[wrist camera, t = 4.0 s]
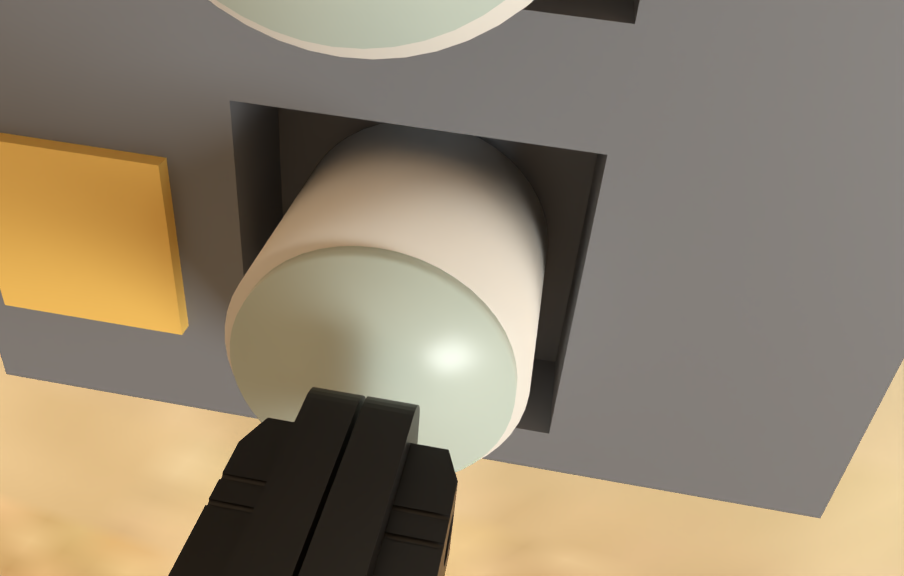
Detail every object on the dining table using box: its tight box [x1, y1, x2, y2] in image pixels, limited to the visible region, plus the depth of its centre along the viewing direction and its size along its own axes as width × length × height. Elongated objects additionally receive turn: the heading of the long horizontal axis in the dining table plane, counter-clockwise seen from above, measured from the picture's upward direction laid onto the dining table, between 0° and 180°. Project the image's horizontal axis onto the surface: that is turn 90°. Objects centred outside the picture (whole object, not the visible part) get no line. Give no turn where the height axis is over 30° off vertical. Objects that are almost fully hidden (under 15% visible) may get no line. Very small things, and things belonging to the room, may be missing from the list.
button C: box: [225, 123, 548, 472], centre depth 14 cm, size 5×5×4 cm
